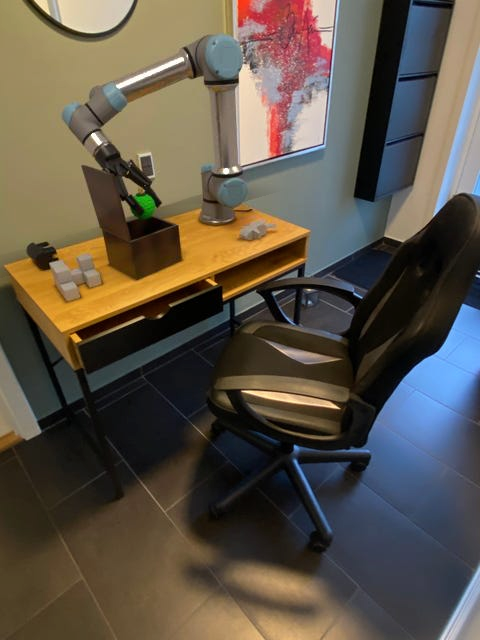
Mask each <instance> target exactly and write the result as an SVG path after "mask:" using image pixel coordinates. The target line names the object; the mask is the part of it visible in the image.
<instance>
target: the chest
mask: <svg viewBox="0 0 480 640" xmlns="http://www.w3.org/2000/svg"><path fill="white" fill-rule="evenodd" d="M126 222H127V226H128V230H129V234H130V238H131V241H127V240H125V239H123V238H121V237H118V236H116V235H114V234H112V233H110V232H108V231H106V230H103V229H101V233H102V237H103V242H104V246H105V251H106V255H107V261H108V265H109V266H111V267H112V268H114V269H116V270H117V271H120V272H121V273H123V274H125V275H127V276H129V277H131V278H132V279H134V280H135V281H138V280H140V279H143V278H145V277H147V276H149V275H152V274H154V273H157V272H159V271H162V270H163V269H166V268H169V267H170V266H173V265H175V264H177V263H180V262H182V261H183V257H182V249H181V247H182V245H181V238H180V227H179V224H177V223H174V222H171V221H169V220H167V219H164V218H161V217H159V216H156V215H154V214H153V215H152V216H151V217H150V218H148V219H140V218H137V217H135V218H132V219H128V220H126Z"/></svg>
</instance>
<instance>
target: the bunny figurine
mask: <svg viewBox="0 0 480 640" xmlns="http://www.w3.org/2000/svg"><path fill="white" fill-rule="evenodd" d="M266 222H267V220H266V219H264V218H262V219H261V220H260V221H258V220H254V221H251V222H250V224H249V225H242V227H241V231H239V233H238V234H239V238H240V239H243V240H245V241H250V242H251V241H253V240H254V239H261V238H262V237H263V236H264V235H266V232H267V230H269V229H276V228H277V225H276V223H275V222H271V223H267V224H266Z"/></svg>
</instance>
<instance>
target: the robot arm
mask: <svg viewBox="0 0 480 640" xmlns="http://www.w3.org/2000/svg"><path fill="white" fill-rule="evenodd" d="M243 65H244V54H243V49H242V47H241V45H240V43H239V42H238V40H236V39H235V38H234V37H233V36H231V35H228V34H226V33H216V34H206V35H203V36H202V37H200V38H198V39H196V40H195V41H193V42H191V43H189V44H187V45H185V46H183V47H181V48H179V51H178V52H177V53H176V54H173V55H171V56H168V57H166V58H164V59H161V60H158V61H157V62H154V63H151V64H149V65H147V66H145V67H141V68H139V69H137V70H135V71H133V72H130V73H128V74H124V75H123V76H120V77H118V78H116V79H113V80H111V81H109V82H106V83H103V84H101V85H95V86H94V87H92V88H91V89H90V90H89V93H88V101H87V102H85V103H84V104H81V103H80V102H79V101H72V102H71V103H67V105H66V106H65V107H63V109H62V111H61V119H62V121H63V122H64V123H65V125H66V126H67V128H68V130H70V132H71V133H72V134H73V135H74V137H75V138H76V139H77V140H78V141H79V142H80V144H81V145H82V146H83V147H84V148H85V150H86V151H87V152H88V153H89V154H90V156H92V158H94V161H95V162H96V163H97V164H98V165H99V167H100V168H101V170H102V171H105V172H108V173H111V174H114V176H115V179H116V183H117V187H118V191H119V195H120V199H121V202H125V203H126V204H127V205H128V206H129V208H130V207H131V208H133V209H134V210H135V212H136V213H137V214H138V215H139V216H142V214H143V213H144V212H145V210H144V209H143V208H142V206H141V205H140V204H139V203H138V202H137V200H136V199H135V198H134V197H133V196H134V195H133V194H132V193H129V192H128V189H127V186H126V183H125V181H124V179H123V177H124V178H125V179H128V180H130V181H131V182H133V183H134V184H135V185H137V186H138V187H142V190H144V191H143V193H146V194H147V195H149V196H150V197H152V199H153V200H154V203H155V209H159V208H160V206H161V205H162V204H163V201H162V200H161V199H160V197H159V196H158V195H157V193H156V192H155V190H154V189H153V188H152V187H151V186H152V184H153V181H152V179H150V178H149V176H148V175H146V174H145V173H144V172H143V171H142V170H141V169H140V167H138V166H137V165H136V163H135V162H134V160H133V159H129V161H128V160H127V161H126V160H125V159H123V158H122V157H121V152H120V150H119V149H118V147H116V145H114V143H113V142H112V141H111V139H110V138H109V137H108V136H107V134H106V133H105V132H104V131H103V129H102V127H104V126H105V125H106V124H107V123H108V122H110V121H111V120H112V119H113V118H114V117H116V116H117V115H118V114H119V113H121V112H122V111H123V110H124V109H125V108H126V107H127V106H128V104H130V103H132V102H134V101H136V100H138V99H140V98H143V97H145V96H148V95H150V94H153V93H155V92H157V91H160V90H162V89H164V88H167V87H170V86H172V85H174V84H176V83H178V82H181V81H183V80H187V79H188V80H191V81H192V80H194V79H197V78H200V77H201V78H202V77H203V86H204V87H205V88H206V89H207V91H208V93H209V106H210V118H211V130H212V143H213V154H214V162H209V163H205V164H202V165H201V167H200V171H201V172H200V175H201V190H202V191H201V192H202V204H201V211H200V212H199V222H201V223H202V224H205V225H208V226H226V225H230V224H232V223H234V221H236V212H237V213H238V212H241V213H246V212H247V213H248V212H252V211H253V208H250V209H235V208H238V207H239V206H241V205H242V204H243V203H244V202H245V201H246V200H247V196H248V193H249V192H248V191H249V189H248V185H247V183H246V181H245V180H244V172H243V167H242V166H241V165H240V163H239V153H238V129H237V108H236V89H237V88H238V86H239V85H240V73H241V70H243V69H242V68H243Z"/></svg>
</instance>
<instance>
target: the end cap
mask: <svg viewBox="0 0 480 640" xmlns="http://www.w3.org/2000/svg"><path fill="white" fill-rule="evenodd" d="M50 245H51V244H50V243H49V242H48V241H43V242H39V243H35V242H34V241H32V242H30V243H29V244H28V245H27V246H26V251H25V252H26V254H27V256H28V257H29V258H30V259H31V260H32V261H33V262H34V263H35V264H36V265H37V266H38V267H40V268H42V269H45V270H51V268H50V265H49V263H51V262H55V261H59V260H60V259H59V257H58V256H56V257H54V256H55V255H58V252H57V249H56V248H55V247H54V246H50Z"/></svg>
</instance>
